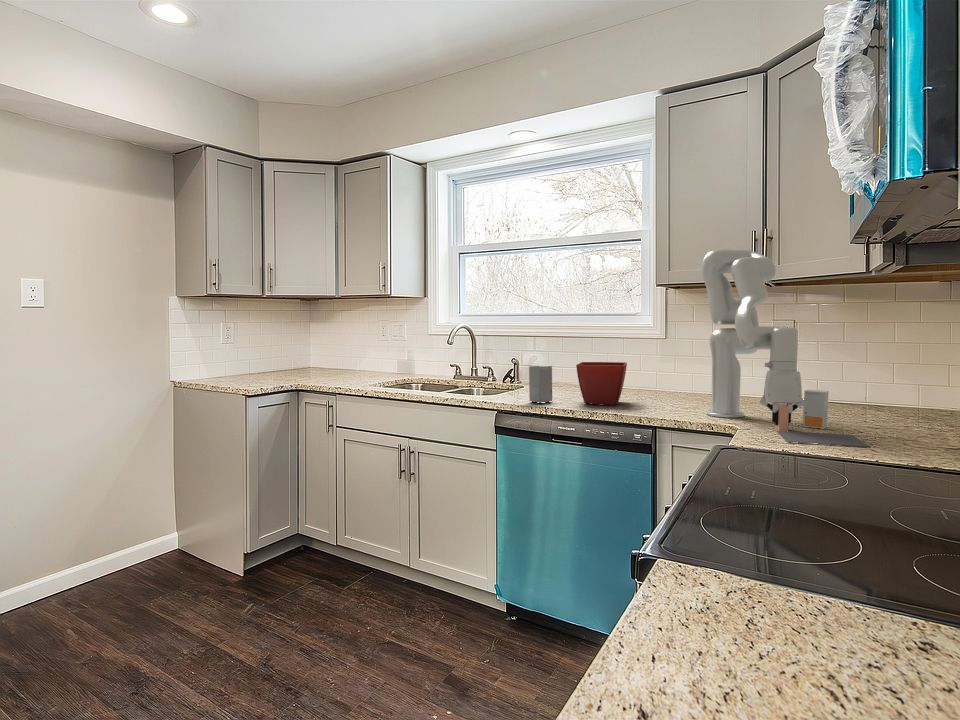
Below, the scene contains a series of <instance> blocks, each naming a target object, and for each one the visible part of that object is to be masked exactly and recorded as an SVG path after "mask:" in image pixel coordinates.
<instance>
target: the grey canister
mask: <svg viewBox="0 0 960 720" xmlns="http://www.w3.org/2000/svg"><path fill="white" fill-rule="evenodd" d="M528 379H529V380H528V381H529V382H528V383H529V388H528V389H529V392H528V393H529V395H528V396H529V402H530V401H533V402H539V403H541V402H548V401H552V402H553V365H529V366H528Z"/></svg>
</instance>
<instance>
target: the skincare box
mask: <svg viewBox="0 0 960 720" xmlns="http://www.w3.org/2000/svg"><path fill="white" fill-rule="evenodd" d="M829 393H830V392H829V390H820V389H805V390H804V393H803V395H804V397H803V401H804V403H805V405H804V406H803V410H802V411H803V414H802V427H803V428H809V427H811V429H816V428H820V429H819V430H825V429H827V428H826V427H828V413H829V412H828V410H829V409H828V408H829ZM824 428H825V429H824Z"/></svg>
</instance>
